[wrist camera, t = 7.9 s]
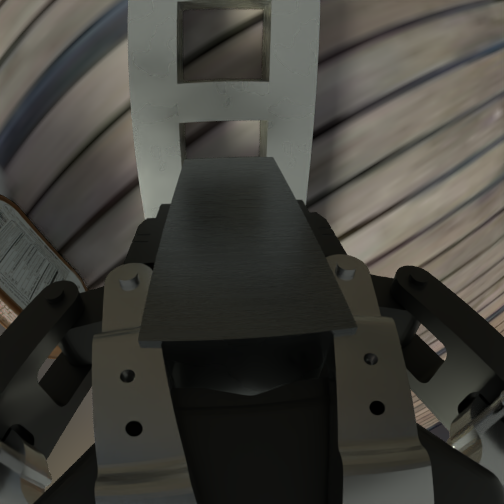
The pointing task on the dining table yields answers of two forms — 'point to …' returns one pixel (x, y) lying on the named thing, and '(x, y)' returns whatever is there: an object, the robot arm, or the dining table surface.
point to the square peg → (240, 282)
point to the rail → (221, 91)
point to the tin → (26, 264)
